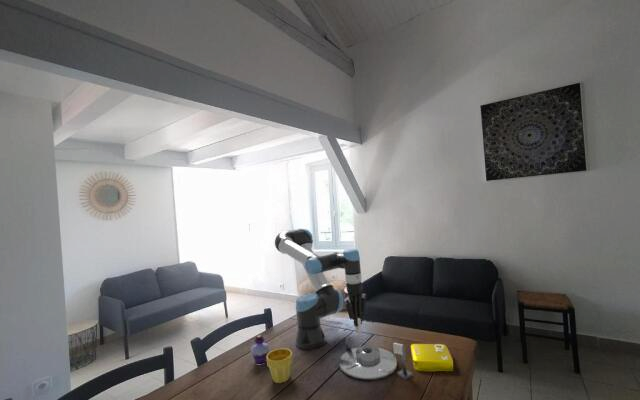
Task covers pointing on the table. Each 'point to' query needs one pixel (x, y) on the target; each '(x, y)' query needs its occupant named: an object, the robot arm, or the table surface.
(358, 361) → the cover
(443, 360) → the element tile
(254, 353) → the potion bottle
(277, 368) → the plant pot
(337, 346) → the table surface
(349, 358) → the turntable
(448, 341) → the table surface
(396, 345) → the stand
